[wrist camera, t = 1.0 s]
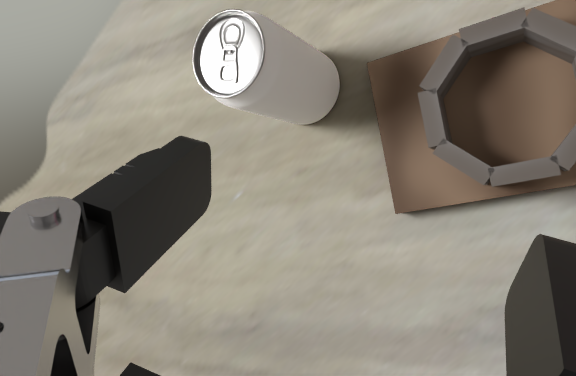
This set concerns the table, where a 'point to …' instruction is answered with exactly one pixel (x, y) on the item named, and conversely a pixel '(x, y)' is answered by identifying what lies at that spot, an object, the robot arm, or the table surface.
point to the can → (264, 68)
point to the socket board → (481, 110)
